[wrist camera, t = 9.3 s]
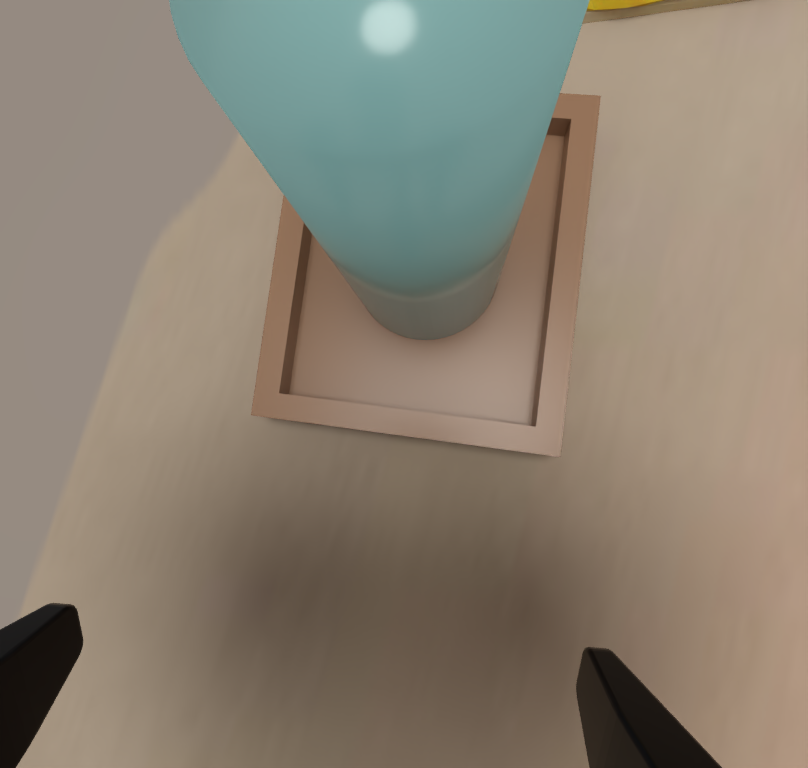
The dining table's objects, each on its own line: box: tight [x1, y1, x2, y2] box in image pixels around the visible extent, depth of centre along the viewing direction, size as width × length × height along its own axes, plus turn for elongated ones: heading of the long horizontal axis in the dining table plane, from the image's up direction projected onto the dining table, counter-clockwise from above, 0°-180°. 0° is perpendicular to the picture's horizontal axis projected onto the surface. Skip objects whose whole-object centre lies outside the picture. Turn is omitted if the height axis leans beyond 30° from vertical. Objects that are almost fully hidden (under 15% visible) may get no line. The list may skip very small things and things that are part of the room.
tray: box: [251, 93, 601, 457], centre depth 21 cm, size 14×12×2 cm
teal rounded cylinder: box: [169, 0, 590, 340], centre depth 14 cm, size 6×6×14 cm
